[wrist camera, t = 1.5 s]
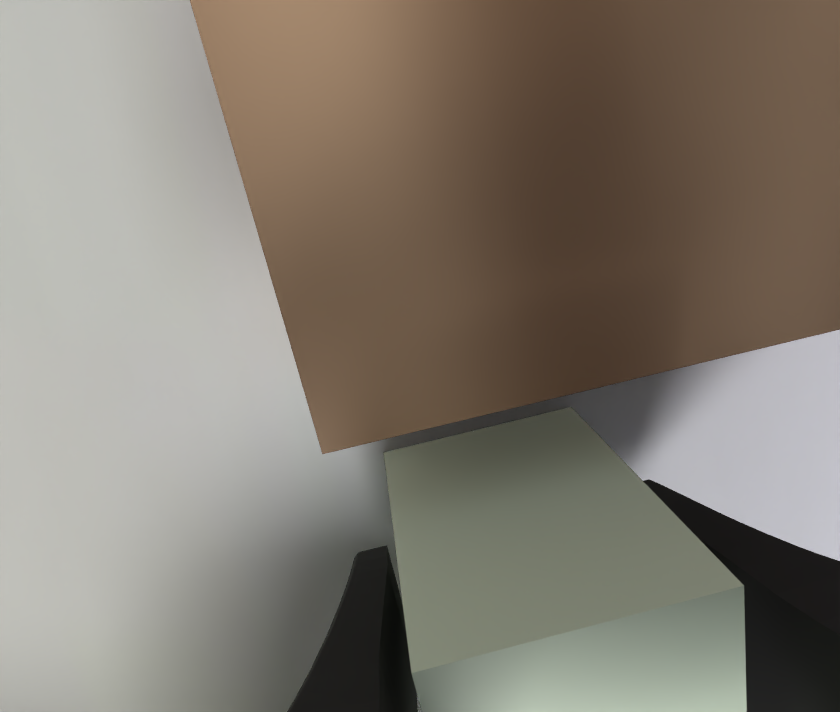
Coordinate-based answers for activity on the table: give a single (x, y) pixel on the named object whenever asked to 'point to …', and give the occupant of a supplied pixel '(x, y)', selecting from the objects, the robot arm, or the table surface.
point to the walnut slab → (530, 191)
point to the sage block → (556, 579)
